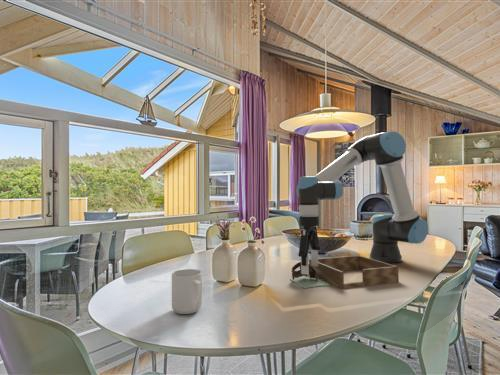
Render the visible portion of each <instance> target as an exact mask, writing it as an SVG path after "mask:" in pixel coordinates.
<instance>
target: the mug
mask: <svg viewBox="0 0 500 375" xmlns="http://www.w3.org/2000/svg"><path fill="white" fill-rule="evenodd" d="M202 294H203V282H202V271H201V270H199V269H195V268H194V269H193V268H185V269H177V270H175V271H173V272H171V309H172V310H173V312H175V313H177V314H180V315H188V314H193V313H195V312H198V311H199V309H200V308H202V304H203V302H202V301H203V300H202V299H203V298H202V297H203V296H202Z"/></svg>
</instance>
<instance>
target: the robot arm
mask: <svg viewBox="0 0 500 375" xmlns="http://www.w3.org/2000/svg"><path fill="white" fill-rule="evenodd" d="M406 149H407V144H406V140H405V138H404V137H403V135H402V134H400V133H399V132H397V131H393V130H392V131H385V132H380V133H376V134H371V135H366V136H364V137H362V138H360V139H359V140H357V141H356V142H354V143H353V144H351V145H350V146H348V147H347V148H346V149H345V150H344V153H343V154H342V155H340V156H339V157H337V159H335V160H334V161H333V162H331V163H330V164H329V165H328V166H326V167H325V168H324V169H322V170H321V171H319V172H318V173H317V174H315V175H314V176H311V175H310V176H308V175H306V176H300V177H298V185H297V186H296V189H295V193H296V195H297V197H298V205H299V206H298V207H297V210H298V211H299V212H298V213H299V216H298V218H299V219H298V220H299V224H298V225H299V226H300V227H303V229H301V230H300V240H299V249H298V250H299V251H298V254H297V256H298V257H300V262H301V274H307V276H308V275H309V256H308V255H309V249H310V247H311V250H310V259H311V266H318V259H319V251H320V250H321V247H320V242H319V237H318V236H319V235H318V226H319V224H320V223H319V222H320V221H319V220H320V217H319V216H318V215H319V214H320V212H319V209H320V208H319V201H329V200H331V201H332V200H333V201H334V200H339V199H341V198H342V197H343V194H344V188H343V185H342V183H340V182H339V181H337V180H338V179H339V178H341V177H342V176H343V175H344V174H346V173H347V172H348V171H349V170H351V169H352V168H353V167H355V166H360V165H361V164H362V163H364V162H367V161H375V165H376V166H378V167H379V168H380V169H381V172H382V176H383V179H384V183H385V187H386V190H387V193H388V196H389V197H388V198H389V200H390V203H391V206H392V207H391V208H392V210H393V214H392V213H390V214H380V215H374V216H373V217H372V223H371V224H372V247H371V250H370V252H369V258H370V259H374V260H377V261H381V262H384V263H388V264H390V263H391V264H393V263H401V262H402V261H403V258H402V257H403V256H402V255H401V251H400V248H399V246H398V243H399V242H401V243H409V244H416V245H417V244H421V243H423V242H424V241H425V240H426V238H427V236H428V233H429V224H428V221H427V220H426V219H424V218H420V217H421V216H420V214H419V212H418V210H417V211H416V210H415V209H414V206H413V202H412V199H411V195H410V191H409V187H408V184H407V180H406V177H405V173H404V170H403V166H402V161H403V159H404V155H405V152H406Z"/></svg>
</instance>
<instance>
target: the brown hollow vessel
mask: <svg viewBox="0 0 500 375" xmlns="http://www.w3.org/2000/svg"><path fill="white" fill-rule="evenodd" d="M298 268H299V270H297V269H298ZM308 275H309V277H310V278H316V281H318V279H317V278H318V277H317V274H316V271H315V269H314V267H313V266H311V265H310V264H309V274H308ZM308 275H307V274H301V261H299V262H297V263H296V264H294V265H293V266H292V268H291V277H292V278H291V279H293V280H294V278H302V277H303V276H305V277H308Z"/></svg>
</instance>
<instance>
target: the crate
mask: <svg viewBox="0 0 500 375" xmlns="http://www.w3.org/2000/svg"><path fill="white" fill-rule="evenodd" d="M308 259H309V258H308ZM309 264H310V265H311V258H310V259H309ZM313 267H314V269H315V271H316V274H317V278H319V279H321V280H323V281H325V282H327V283H329V284H330V285H333V286H335V287H337V288H339V289H340V290H341V289H349V288H358V287H366V286H367V287H368V286H375V285H383V284H384V285H385V284H392V283H399V282H400V281H399V278H400V277H399V265H398V266H397V265H394V264H392V263H391V264H390V263H388V262H381V261H377V260H374V259H370V257H366V256H362V255H347V256H346V255H344V256H334V257H333V256H332V257H323V258H322V257H320V258H319V257H318V266H313ZM348 270H361V271H362V280H361V281H353V282H345V278H344V276H345V274H344V273H345V272H344V271H348Z"/></svg>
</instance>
